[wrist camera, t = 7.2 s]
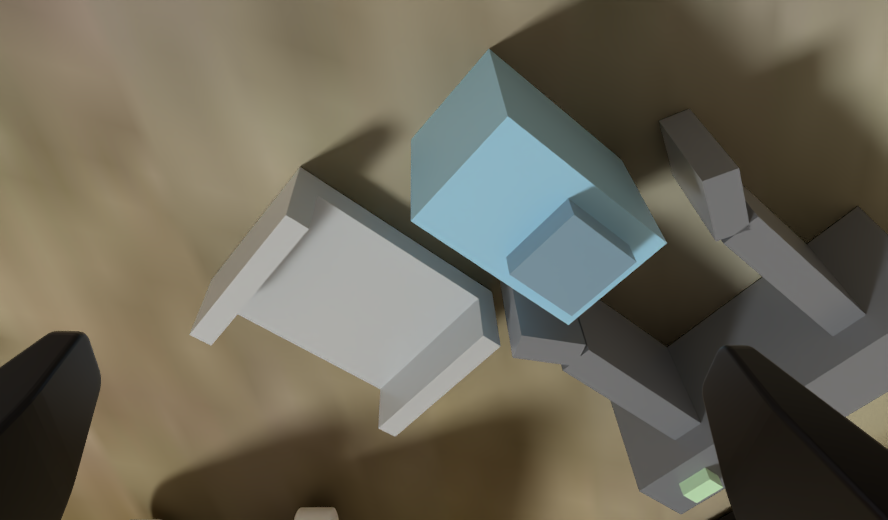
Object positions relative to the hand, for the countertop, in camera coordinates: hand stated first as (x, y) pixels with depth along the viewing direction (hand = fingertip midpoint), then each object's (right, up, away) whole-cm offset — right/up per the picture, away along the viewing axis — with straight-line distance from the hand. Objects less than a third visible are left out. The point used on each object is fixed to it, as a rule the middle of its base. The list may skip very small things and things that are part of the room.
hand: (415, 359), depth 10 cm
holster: (-3, 0, +15) cm, 16 cm away
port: (+9, +1, +16) cm, 18 cm away
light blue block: (+3, +5, +12) cm, 14 cm away
